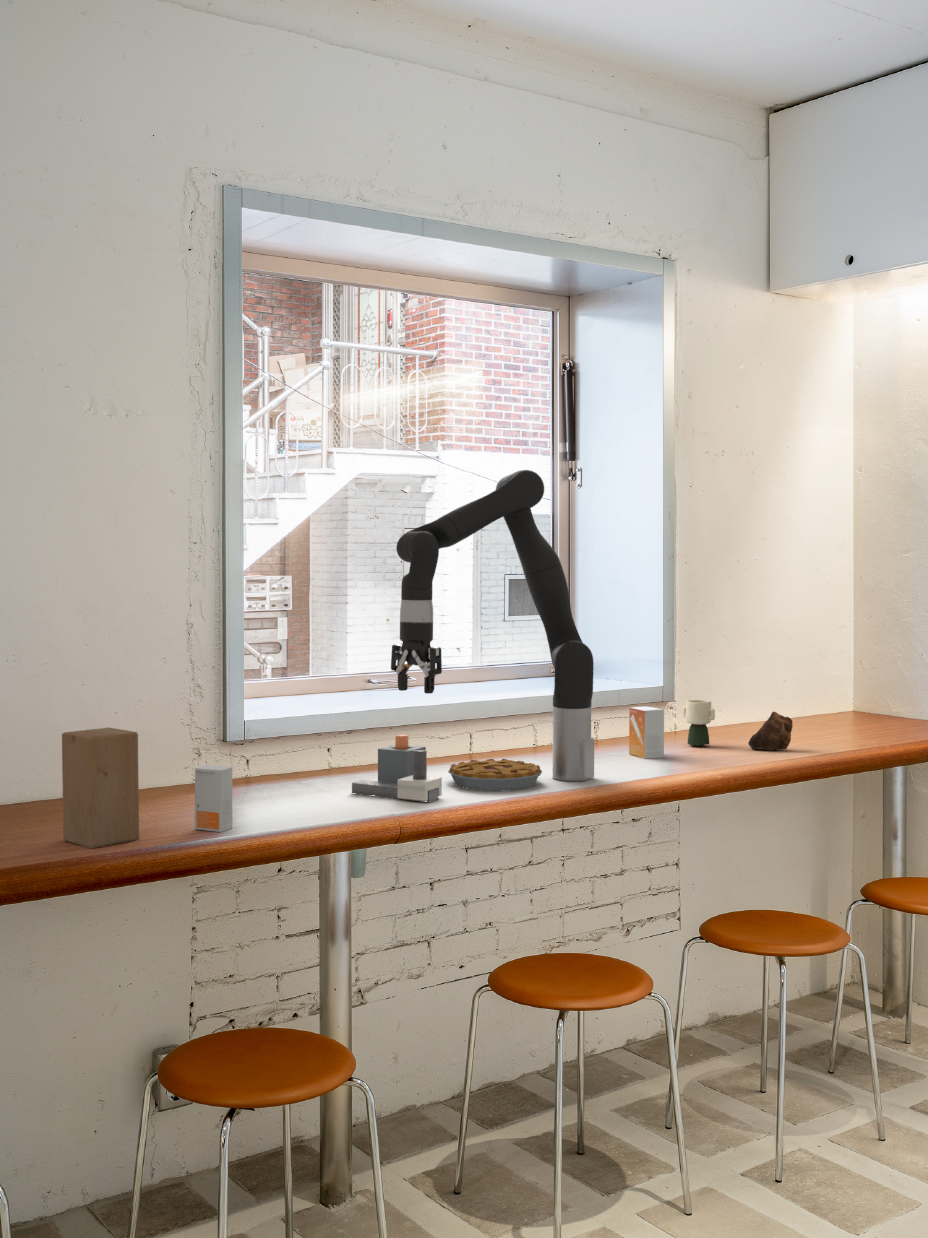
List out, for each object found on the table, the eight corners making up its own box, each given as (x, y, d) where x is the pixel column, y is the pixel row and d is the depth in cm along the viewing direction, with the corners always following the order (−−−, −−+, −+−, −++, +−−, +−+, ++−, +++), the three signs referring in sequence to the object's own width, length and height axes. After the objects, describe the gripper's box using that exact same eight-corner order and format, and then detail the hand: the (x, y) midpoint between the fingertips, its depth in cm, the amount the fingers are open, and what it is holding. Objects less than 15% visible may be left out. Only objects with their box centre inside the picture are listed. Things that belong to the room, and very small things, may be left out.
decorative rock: (791, 749, 318) (792, 711, 318) (793, 752, 312) (794, 713, 312) (747, 748, 320) (748, 710, 320) (749, 751, 314) (749, 712, 314)
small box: (628, 754, 308) (628, 707, 308) (648, 753, 311) (648, 706, 310) (644, 759, 301) (644, 710, 300) (664, 757, 303) (664, 709, 303)
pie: (434, 780, 271) (434, 759, 271) (516, 773, 280) (516, 753, 279) (471, 796, 251) (471, 773, 251) (558, 789, 259) (558, 767, 259)
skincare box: (194, 830, 216) (193, 768, 216) (206, 825, 220) (206, 764, 220) (221, 833, 214) (220, 770, 214) (233, 828, 218) (233, 766, 218)
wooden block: (90, 849, 201) (89, 737, 200) (62, 840, 208) (60, 732, 207) (140, 839, 208) (139, 731, 208) (111, 831, 215) (109, 727, 214)
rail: (438, 799, 246) (438, 788, 246) (428, 802, 243) (428, 791, 242) (362, 791, 256) (361, 780, 256) (351, 794, 252) (351, 782, 252)
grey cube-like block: (425, 785, 263) (425, 746, 262) (407, 791, 256) (407, 751, 255) (396, 782, 267) (396, 744, 266) (377, 787, 260) (377, 748, 259)
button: (410, 754, 262) (410, 735, 261) (403, 756, 259) (403, 737, 259) (399, 753, 263) (399, 734, 263) (392, 755, 260) (392, 736, 260)
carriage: (441, 795, 247) (441, 750, 247) (425, 801, 241) (425, 754, 241) (414, 792, 251) (414, 747, 250) (397, 798, 245) (397, 752, 244)
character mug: (721, 747, 322) (722, 701, 321) (706, 749, 317) (707, 703, 317) (690, 743, 330) (690, 698, 329) (675, 745, 325) (675, 700, 325)
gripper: (450, 621, 253) (449, 693, 253) (407, 618, 263) (406, 688, 263) (426, 621, 247) (425, 695, 248) (383, 619, 257) (382, 690, 258)
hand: (415, 691), depth 255 cm, fingers open, 8 cm apart
